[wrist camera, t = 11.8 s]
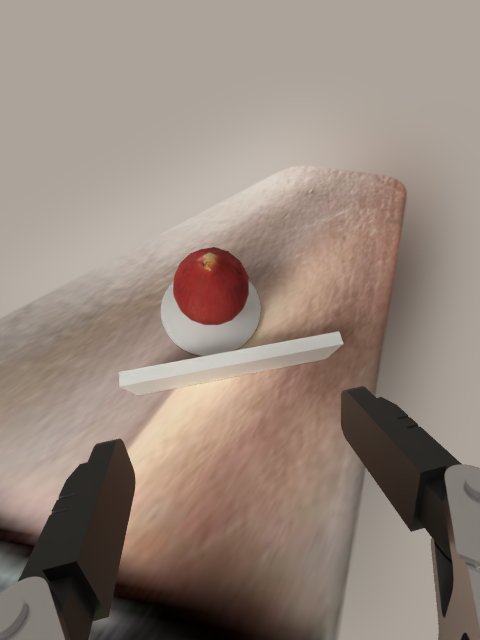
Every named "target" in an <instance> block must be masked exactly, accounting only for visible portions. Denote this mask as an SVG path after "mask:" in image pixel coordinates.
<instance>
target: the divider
mask: <svg viewBox="0 0 480 640" xmlns="http://www.w3.org/2000/svg"><path fill="white" fill-rule="evenodd" d="M343 344H344V343H343V341H342V338H341V335H340V333H339V331H338V332H333V333H327V334H322V335H316V336H311V337H306V338H300V339H295V340H289V341H284V342H279V343H273V344H268V345H262V346H257V347H251V348H246V349H241V350H235V351H230V352H224V353H219V354H213V355H208V356H203V357H197V358H192V359H186V360H181V361H175V362H170V363H165V364H159V365H154V366H148V367H143V368H138V369H132V370H127V371H121V372H119V387H121V388H123V389H125V390H127V391H129V392H131V393H133V394H135V395H137V396H139V395H144V394H149V393H154V392H160V391H165V390H170V389H175V388H180V387H185V386H190V385H195V384H201V383H206V382H211V381H216V380H221V379H226V378H231V377H237V376H242V375H247V374H252V373H257V372H262V371H267V370H272V369H278V368H283V367H288V366H293V365H298V364H303V363H308V362H314V361H319V360H324V359H327V358H328V357H329V356H330V355H331V354H333V353H334V352H335V351H336V350H337V349H338V348H339V347H341V346H342V345H343Z"/></svg>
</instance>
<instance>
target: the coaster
mask: <svg viewBox="0 0 480 640" xmlns="http://www.w3.org/2000/svg"><path fill="white" fill-rule="evenodd" d="M173 284H174V281H173V282H172V284H171V285H170V286H169V287H168V289H167V291H166V292H165V294H164V297H163V300H162V303H161V319H162V323H163V326H164V328H165V330H166V332H167V334H168V336H169V337H170V338H171V340H172V341H173V342H174V343H175V344H176V345H177V346H178V347H180V348H181V349H183V350H184V351H186V352H188V353H191V354H194V355H197V356H208V355H213V354H219V353H224V352H230V351H235V350H237V349H239V348H240V347H242V346H243V345H244V344H245V343H246V342H247V341H249V339H250V338H251V337H252V336H253V334H254V332H255V331H256V328H257V326H258V323H259V319H260V313H261V304H260V299H259V296H258V293H257V291H256V289H255V288H254V286H253V285H252V283H251V282H250V281H249V295H248V298H247V301H246V303H245V306H244V308H243V309H242V311H241V312H240V313H239V314H238V315H237V316H236V317H235V318H234V319H233V320H231V321H229V322H226V323H223V324H220V325H203V324H200V323H198V322H195V321H192V320H190V319H189V318H188V317H187V316H186V315H185V314H183V313H182V312H181V310H180V309H179V307H178V305H177V302H176V300H175V298H174V295H173Z"/></svg>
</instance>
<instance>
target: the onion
mask: <svg viewBox="0 0 480 640" xmlns="http://www.w3.org/2000/svg"><path fill="white" fill-rule="evenodd" d="M173 295H174V298H175V300H176V302H177V305H178V307H179V309H180V310H181V312H182V313H183V314H185V315H186V316H187V317H188V318H189V319H190V320H192V321H195V322H198V323H200V324H203V325H220V324H223V323H226V322H229V321H231V320H233V319H234V318H235V317H236V316H237V315H238V314H239V313H240V312H241V311H242V309H243V308H244V306H245V303H246V301H247V298H248V295H249V279H248V275H247V273H246V271H245V269H244V267H243V265H242V263H241V262H240V261H239V260H238V259H237V258H235V257H234V256H233V255H232V254H230V253H229V252H228V251H225V250H221V249H218V248H215V247H213V248H207V249H201V250H199V251H196V252H193V253H191V254H189V255H188V256H187V257H186V258H185V259H184V260H183V261H182V262H181V263H180V265H179V267H178V269H177V271H176V273H175V276H174V284H173Z"/></svg>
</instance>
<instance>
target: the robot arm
mask: <svg viewBox="0 0 480 640" xmlns="http://www.w3.org/2000/svg"><path fill="white" fill-rule="evenodd" d="M341 426H342V430H343V433H344V436H345V438H346V440H347V441H348V443H349V444H350V445H351V447H352V448H353V450H354V451H355V453H356V454H357V455H358V457H359V458H360V460H361V461H362V462H363V464H364V465H365V467H366V468H367V470H368V471H369V472H370V474H371V475H372V477H373V478H374V479H375V481H376V482H377V484H378V485H379V487H380V488H381V489H382V491H383V492H384V494H385V495H386V497H387V498H388V500H389V501H390V502H391V504H392V505H393V507H394V508H395V509H396V511H397V512H398V514H399V515H400V516H401V518H402V519H403V521H404V522H405V524H406V525H407V526H408V528H409V529H410V531H415V530H418V529H422V528H425V529H426V530H427V532H428V533H429V534H430V536H432V539H431V550H432V560H433V571H434V581H435V591H436V602H437V611H438V624H439V637H438V640H480V468H478V467H474V466H470V465H462V464H461V463H460V462H459V461H457V459H455V458H454V457H453V456H452V455H451V454H450V453H449V452H448V451H447V450H445V449H444V448H443V447H442V446H441V445H440V444H439V443H438V442H437V441H436V440H435V439H433V438H432V437H431V436H430V435H429V434H428V433H427V432H426V431H425V430H424V429H422V428H421V427H418V424H417V423H416V422H415V421H413V419H411V418H409V417H408V415H407V414H406V413H405V412H404V411H403V410H401V409H400V408H399V407H398V406H397V405H396V404H394V403H392V402H390V401H388V400H386V399H384V398H382V397H379V398H376V397H375V396H374V395H373V394H372V393H371V392H370V391H369V390H368V389H366V388H365V387H363V386H361V387H357V388H352V389H348V390H344V391H342V394H341ZM134 492H135V473H134V469H133V467H132V464H131V461H130V458H129V456H128V453H127V450H126V448H125V445H124V443H123V441H122V439H116V440H111V441H107V442H102V443H98V444H96V445H95V446H94V448H93V451H92V453H91V456H90V458H89V460H88V462H87V463H83V464H80V465H79V466H78V467H77V468H76V469H75V471H74V472H73V473H72V474H71V475H70V476H69V478H68V479H67V480H66V482H65V484H64V486H63V488H62V491H61V493H60V495H59V499H58V500H57V501H56V503H55V505H54V507H53V509H52V514H51V515H50V516H49V518H48V520H47V522H46V524H45V526H44V528H43V531H42V533H41V535H40V537H39V539H38V541H37V543H36V545H35V547H34V549H33V552H32V554H31V556H30V558H29V560H28V562H27V564H26V566H25V568H24V570H23V573H22V575H21V577H20V578H19V580H18V582H17V583H15V584H14V585H12V586H10V587H9V588H8V589H6V590H5V591H4V592H3V593H2V594H0V640H88V638H89V634H90V630H91V626H92V622H93V621H95V620H99V619H102V618H106V617H109V612H110V608H111V603H112V598H113V593H114V588H115V583H116V579H117V574H118V569H119V564H120V559H121V554H122V550H123V545H124V540H125V535H126V530H127V525H128V521H129V516H130V511H131V506H132V501H133V496H134Z"/></svg>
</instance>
